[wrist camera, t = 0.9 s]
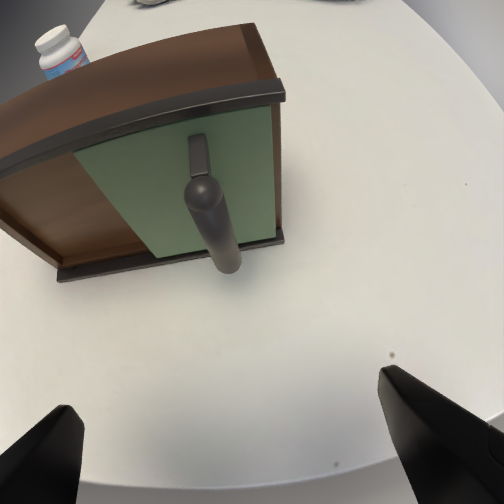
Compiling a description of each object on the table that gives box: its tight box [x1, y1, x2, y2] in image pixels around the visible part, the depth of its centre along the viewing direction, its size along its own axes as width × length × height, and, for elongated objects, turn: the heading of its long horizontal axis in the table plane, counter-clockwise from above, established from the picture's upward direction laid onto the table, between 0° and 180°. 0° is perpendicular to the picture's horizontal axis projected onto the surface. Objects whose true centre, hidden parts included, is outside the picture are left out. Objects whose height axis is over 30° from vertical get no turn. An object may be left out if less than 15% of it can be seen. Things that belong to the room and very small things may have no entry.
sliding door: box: [73, 104, 276, 274], centre depth 18 cm, size 4×9×13 cm, turn 99°
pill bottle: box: [35, 25, 90, 81], centre depth 32 cm, size 6×6×11 cm
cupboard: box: [0, 23, 286, 283], centre depth 20 cm, size 8×20×14 cm, turn 99°
